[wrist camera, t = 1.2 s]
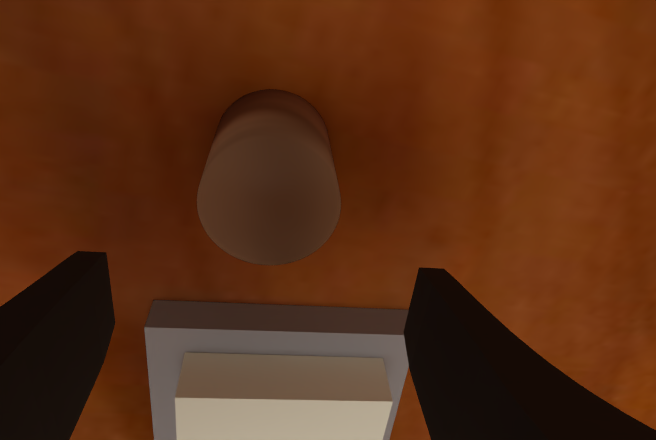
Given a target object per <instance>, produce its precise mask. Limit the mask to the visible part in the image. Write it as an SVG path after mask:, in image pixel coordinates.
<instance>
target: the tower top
mask: <svg viewBox="0 0 656 440" xmlns="http://www.w3.org/2000/svg"><path fill="white" fill-rule="evenodd" d="M392 403H393V400H392V396H391V391H390V387H389V383H388V378H387V374H386V370H385V366H384V361H383V358H363V357H329V356H295V355H260V354H226V353H192V352H185V354H184V359H183V363H182V368H181V372H180V377H179V381H178V386H177V390H176V395H175V413H176V437H177V440H383V437H384V433H385V429H386V425H387V422H388V418H389V414H390V411H391V407H392Z"/></svg>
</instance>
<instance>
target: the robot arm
mask: <svg viewBox="0 0 656 440" xmlns="http://www.w3.org/2000/svg"><path fill="white" fill-rule="evenodd" d="M114 325H115V317H114V309H113V302H112V294H111V286H110V278H109V270H108V263H107V255H106V252H85V251H77V252H76V253H74V254H73V255H71V256H70V257H68V258H67V259H66V260H64V261H63V262H61V263H60V264H59V265H57V266H56V267H55V268H53V269H52V270H51V271H49V272H48V273H47V274H45V275H44V276H43V277H41V278H40V279H39V280H37V281H36V282H34V283H33V284H32V285H30V286H29V287H27V288H26V289H25V290H23V291H22V292H21V293H19V294H18V295H16V296H15V297H14V298H12V299H11V300H9V301H8V302H7V303H5V304H4V305H2V306H1V307H0V440H69V439H70V437H71V435H72V432H73V430H74V428H75V426H76V424H77V421H78V419H79V417H80V415H81V412H82V410H83V408H84V406H85V404H86V401H87V399H88V397H89V395H90V392H91V390H92V388H93V386H94V383H95V381H96V379H97V377H98V374H99V372H100V370H101V367H102V365H103V363H104V359H105V356H106V353H107V350H108V346H109V343H110V339H111V336H112V332H113V329H114ZM403 333H404V339H405V345H406V352H407V357H408V363H409V368H410V372H411V376H412V379H413V382H414V386H415V389H416V392H417V395H418V399H419V402H420V405H421V408H422V412H423V415H424V418H425V421H426V424H427V427H428V431H429V434H430V437H431V440H656V430H654V429H652V428H650V427H648V426H647V425H645V424H643V423H641V422H640V421H638V420H636V419H634V418H632V417H631V416H629V415H627V414H625V413H624V412H622V411H621V410H619V409H617V408H616V407H614V406H612V405H611V404H609V403H608V402H606V401H604V400H603V399H601V398H599V397H598V396H596V395H595V394H593V393H592V392H590V391H589V390H587V389H586V388H584V387H583V386H581V385H579V384H578V383H577V382H575V381H574V380H572V379H571V378H570V377H568V376H567V375H565V374H564V373H563V372H561V371H560V370H558V369H557V368H556V367H554V366H553V365H551V364H550V363H549V362H548V361H546V360H545V359H544V358H542V357H541V356H540V355H539V354H537V353H536V352H535V351H534V350H532V349H531V348H530V347H529V346H528V345H526V344H525V343H524V342H523V341H522V340H520V339H519V338H518V337H517V336H516V335H514V334H513V333H512V332H511V331H510V330H509V329H508V328H506V327H505V326H504V325H503V324H502V323H501V322H500V321H499V320H498V319H496V318H495V317H494V316H493V315H492V314H491V313H490V312H489V311H488V310H487V309H486V308H485V307H484V306H483V305H482V304H480V303H479V302H478V301H477V300H476V299H475V298H474V297H473V296H472V295H471V294H470V293H469V292H468V291H467V290H466V289H465V288H464V287H463V286H462V285H461V284H460V283H459V282H458V281H457V280H456V279H455V278H453V277H452V276H451V275H450V274H449V273H448V272H447V271H446V270H445V269H438V268H419V270H418V274H417V278H416V283H415V287H414V291H413V295H412V299H411V303H410V307H409V311H408V315H407V319H406V323H405V328H404V332H403Z"/></svg>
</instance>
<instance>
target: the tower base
mask: <svg viewBox="0 0 656 440" xmlns="http://www.w3.org/2000/svg"><path fill="white" fill-rule="evenodd" d="M407 315H408V310H400V309H374V308H348V307H323V306H297V305H271V304H246V303H220V302H195V301H169V300H153V303H152V306H151V309H150V312H149V315H148V318H147V321H146V324H145V327H144V329H145V340H146V352H147V363H148V375H149V386H150V398H151V409H152V420H153V432H154V440H177V437H176V413H175V395H176V390H177V386H178V381H179V377H180V372H181V368H182V363H183V359H184V354H185V352H192V353H226V354H260V355H295V356H329V357H363V358H383V361H384V366H385V370H386V374H387V378H388V383H389V387H390V391H391V396H392V400H393V403H392V407H391V411H390V414H389V418H388V422H387V425H386V429H385V433H384V437H383V440H389V438H390V435H391V431H392V427H393V423H394V419H395V416H396V412H397V408H398V404H399V400H400V397H401V393H402V389H403V385H404V382H405V378H406V374H407V370H408V366H409V363H408V357H407V352H406V345H405V339H404V333H403V332H404V328H405V323H406V319H407Z"/></svg>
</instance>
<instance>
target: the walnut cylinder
mask: <svg viewBox="0 0 656 440" xmlns="http://www.w3.org/2000/svg"><path fill="white" fill-rule="evenodd" d="M197 210H198V214H199V218H200V221H201V223H202V226H203V228H204V229H205V231H206V233H207V234H208V236H209V237H210V238H211V239H212V241H213V242H214V243H215V244H216V245H217V246H218V247H220V248H221V249H222V250H224V251H225V252H227V253H228V254H230V255H232V256H233V257H236V258H238V259H240V260H243V261H246V262H249V263H254V264H260V265H280V264H286V263H291V262H294V261H297V260H300V259H302V258H304V257H306V256H308V255H310V254H312V253H313V252H315V251H316V250H317V249H319V248H320V247H321V246H322V245H323V244H324V243H325V242H326V241H327V240H328V239H329V237H330V236H331V234H332V233H333V231H334V229H335V227H336V225H337V223H338V220H339V216H340V211H341V196H340V190H339V185H338V181H337V176H336V171H335V166H334V161H333V156H332V152H331V147H330V142H329V137H328V133H327V129H326V126H325V123H324V121H323V119H322V118H321V116H320V114H319V113H318V112H317V110H316V109H315V108H314V107H313V106H312V105H311V104H310V103H308V102H307V101H306V100H304V99H303V98H301V97H299V96H297V95H295V94H293V93H290V92H286V91H282V90H273V89H267V90H259V91H255V92H252V93H249V94H247V95H245V96H243V97H241V98H239V99H238V100H237V101H235V102H234V103H233V104H232V105H231V106H230V107H229V108H228V109H227V110H226V112H225V113H224V114H223V116H222V118H221V120H220V122H219V125H218V127H217V131H216V134H215V137H214V140H213V143H212V146H211V150H210V153H209V156H208V159H207V162H206V165H205V168H204V172H203V175H202V178H201V181H200V184H199V188H198V193H197Z"/></svg>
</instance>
